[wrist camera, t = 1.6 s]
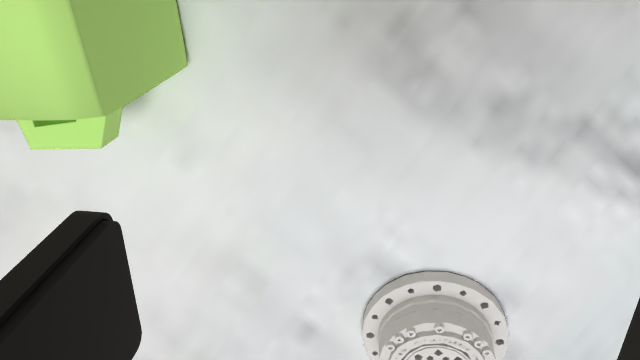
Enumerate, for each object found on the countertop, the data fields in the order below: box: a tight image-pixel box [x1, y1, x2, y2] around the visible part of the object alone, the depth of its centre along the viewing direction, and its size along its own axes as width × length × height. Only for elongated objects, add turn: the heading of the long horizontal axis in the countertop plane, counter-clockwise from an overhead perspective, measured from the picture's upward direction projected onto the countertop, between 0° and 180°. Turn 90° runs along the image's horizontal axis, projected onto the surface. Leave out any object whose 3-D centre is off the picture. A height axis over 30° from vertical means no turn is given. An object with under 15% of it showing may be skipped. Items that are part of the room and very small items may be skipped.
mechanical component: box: [362, 271, 509, 360], centre depth 36 cm, size 10×4×10 cm
